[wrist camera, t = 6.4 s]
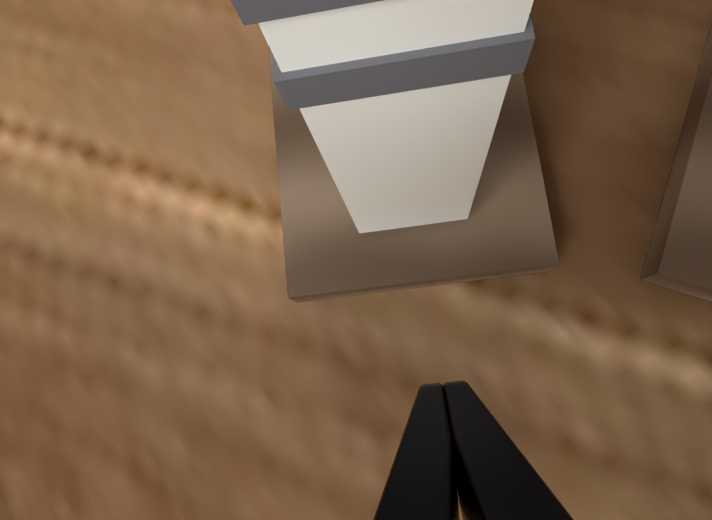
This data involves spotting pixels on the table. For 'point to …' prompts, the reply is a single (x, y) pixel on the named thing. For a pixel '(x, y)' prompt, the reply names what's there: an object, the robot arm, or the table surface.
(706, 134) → the base
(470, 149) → the post
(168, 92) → the table surface
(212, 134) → the table surface
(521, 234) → the base
